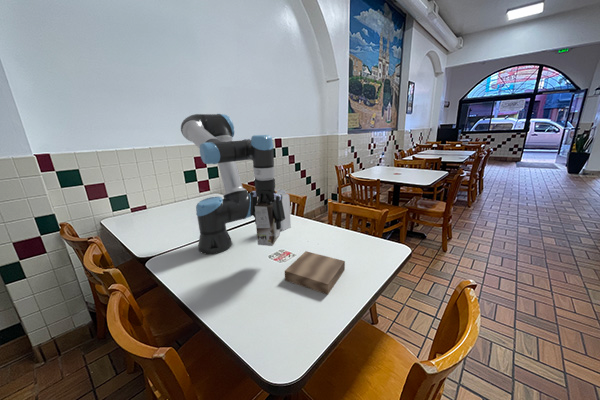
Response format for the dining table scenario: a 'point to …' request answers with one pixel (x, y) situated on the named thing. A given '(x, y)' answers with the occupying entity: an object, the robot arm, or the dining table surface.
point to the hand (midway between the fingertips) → (268, 234)
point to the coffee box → (265, 224)
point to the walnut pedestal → (315, 271)
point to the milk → (285, 209)
